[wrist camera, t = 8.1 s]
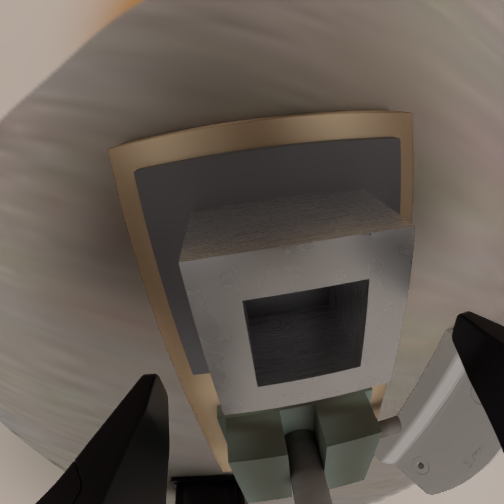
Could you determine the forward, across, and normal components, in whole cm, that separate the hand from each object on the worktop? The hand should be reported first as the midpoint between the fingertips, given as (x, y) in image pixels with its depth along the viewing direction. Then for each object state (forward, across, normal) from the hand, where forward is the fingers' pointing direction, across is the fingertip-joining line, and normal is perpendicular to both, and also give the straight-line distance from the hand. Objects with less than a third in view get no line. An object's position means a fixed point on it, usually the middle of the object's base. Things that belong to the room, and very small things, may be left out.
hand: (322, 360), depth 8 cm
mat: (+6, 0, 0) cm, 6 cm away
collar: (+5, 0, 0) cm, 5 cm away
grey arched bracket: (+8, -13, +17) cm, 23 cm away
